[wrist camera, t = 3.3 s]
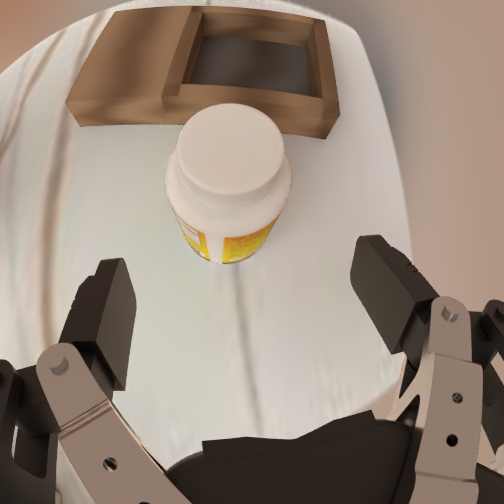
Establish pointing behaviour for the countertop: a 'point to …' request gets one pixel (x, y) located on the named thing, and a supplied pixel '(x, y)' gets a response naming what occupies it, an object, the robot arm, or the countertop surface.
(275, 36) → the cup caddy
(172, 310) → the countertop surface
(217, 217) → the supplement bottle
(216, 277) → the countertop surface
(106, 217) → the countertop surface
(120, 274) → the robot arm
